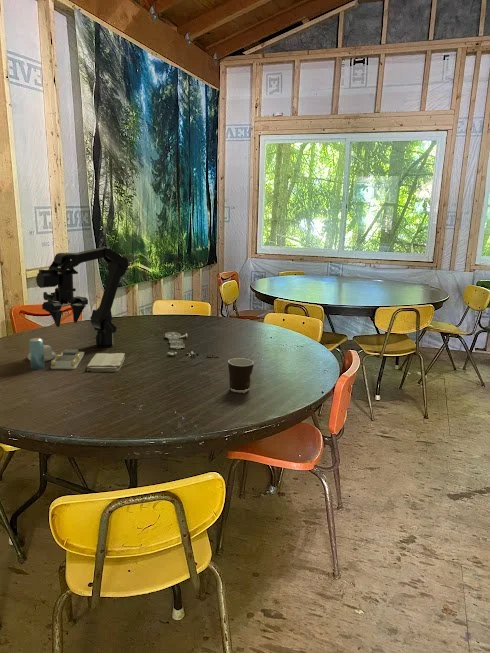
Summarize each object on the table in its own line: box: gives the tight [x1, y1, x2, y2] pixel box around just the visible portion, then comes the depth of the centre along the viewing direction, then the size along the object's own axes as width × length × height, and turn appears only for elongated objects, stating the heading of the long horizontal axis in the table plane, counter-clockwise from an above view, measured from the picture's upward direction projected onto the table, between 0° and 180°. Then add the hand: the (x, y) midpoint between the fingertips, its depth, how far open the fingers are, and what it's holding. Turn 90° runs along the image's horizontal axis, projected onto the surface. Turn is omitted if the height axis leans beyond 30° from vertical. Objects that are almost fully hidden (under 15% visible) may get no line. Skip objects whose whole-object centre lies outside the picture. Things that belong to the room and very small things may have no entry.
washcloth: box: [86, 352, 126, 373], centre depth 175 cm, size 12×18×3 cm, turn 8°
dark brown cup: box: [227, 357, 255, 390], centre depth 156 cm, size 12×9×10 cm
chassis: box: [50, 348, 85, 370], centre depth 175 cm, size 8×18×3 cm, turn 9°
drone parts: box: [164, 331, 194, 357], centre depth 204 cm, size 23×35×3 cm, turn 9°
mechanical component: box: [27, 344, 56, 362], centre depth 178 cm, size 10×4×10 cm
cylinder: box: [28, 337, 46, 370], centre depth 166 cm, size 5×5×10 cm
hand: (66, 324), depth 183 cm, fingers open, 9 cm apart
